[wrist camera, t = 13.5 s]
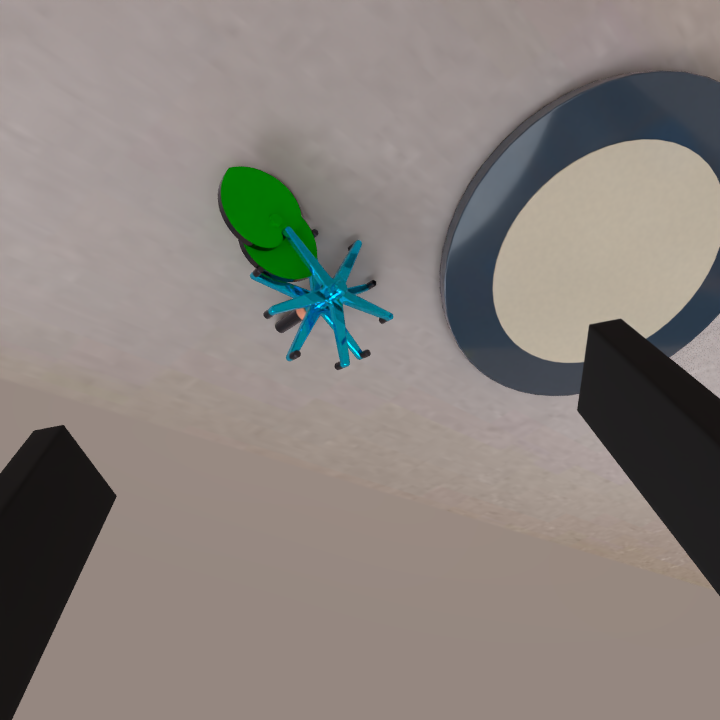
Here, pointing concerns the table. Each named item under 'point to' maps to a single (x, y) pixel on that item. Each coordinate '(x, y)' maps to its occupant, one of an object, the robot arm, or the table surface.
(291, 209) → the spiky blue green toy
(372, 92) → the table surface
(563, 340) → the plate
